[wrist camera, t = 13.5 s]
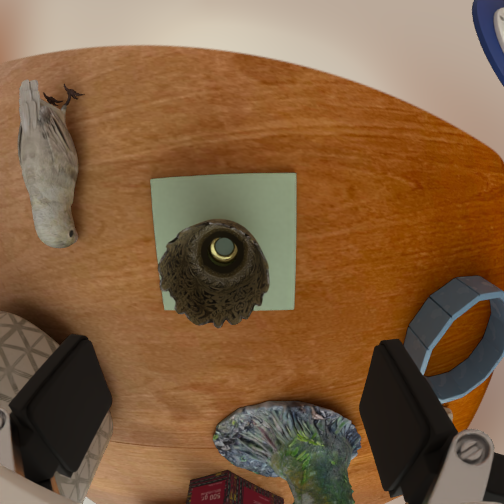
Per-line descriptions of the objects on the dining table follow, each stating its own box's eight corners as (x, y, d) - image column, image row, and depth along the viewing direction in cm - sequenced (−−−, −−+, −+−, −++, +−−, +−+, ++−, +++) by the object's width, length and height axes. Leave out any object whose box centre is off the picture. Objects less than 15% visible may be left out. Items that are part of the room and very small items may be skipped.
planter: (-22, 287, 30) (-122, 361, 7) (101, 312, 30) (-25, 472, 7) (24, 406, 37) (-32, 488, 14) (137, 444, 37) (97, 564, 14)
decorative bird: (59, 241, 28) (17, 262, 20) (50, 99, 23) (6, 90, 16) (98, 238, 27) (57, 261, 20) (89, 85, 23) (46, 69, 16)
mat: (152, 178, 26) (150, 179, 25) (295, 172, 25) (296, 173, 25) (165, 307, 29) (164, 310, 29) (293, 307, 29) (294, 309, 29)
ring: (417, 280, 28) (440, 299, 24) (504, 272, 28) (528, 286, 23) (390, 388, 33) (403, 414, 28) (474, 368, 32) (490, 387, 28)
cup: (279, 264, 27) (288, 303, 20) (209, 296, 28) (194, 342, 21) (242, 190, 25) (236, 202, 18) (170, 228, 26) (138, 255, 19)
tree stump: (215, 385, 33) (250, 514, 16) (356, 373, 38) (429, 456, 21) (208, 465, 37) (231, 559, 20) (322, 450, 42) (366, 524, 26)
